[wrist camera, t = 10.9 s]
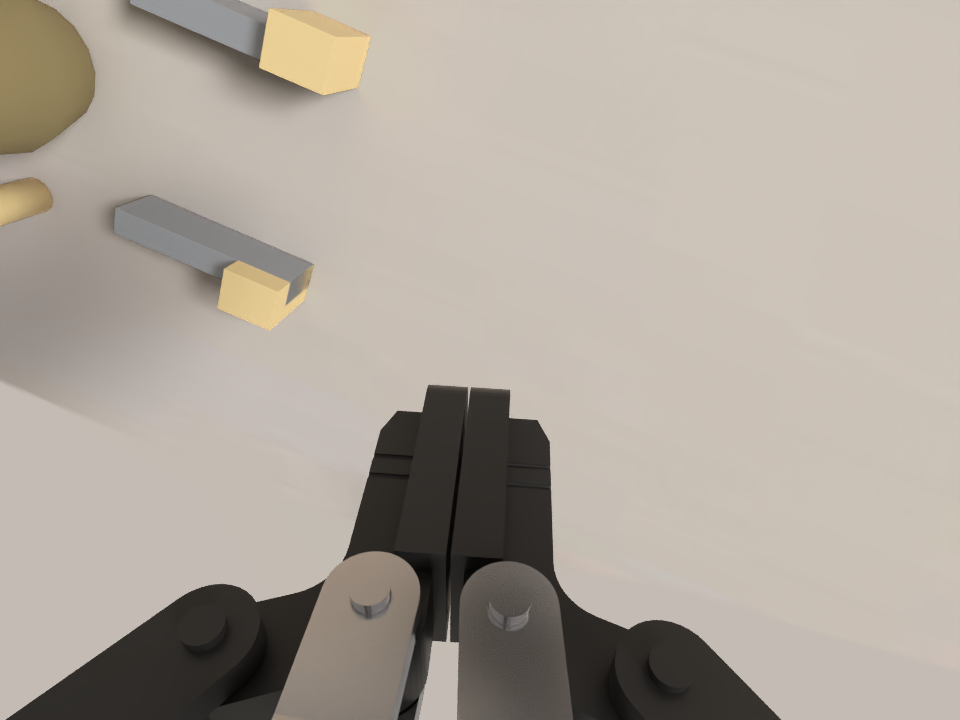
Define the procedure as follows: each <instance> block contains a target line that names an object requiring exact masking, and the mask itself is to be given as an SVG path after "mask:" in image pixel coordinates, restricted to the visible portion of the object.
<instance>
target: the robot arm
mask: <svg viewBox="0 0 960 720" xmlns="http://www.w3.org/2000/svg"><path fill="white" fill-rule="evenodd" d="M509 406H510V390H503V389H488V388H473V387H471V391H470V399H469V407H468V387H456V386H441V385H428V388H427V392H426V397H425V402H424V407H423V412H407V411H397V412H396V413H395V414H394V416H393V417H392V418H391V419H390V420H389V421H388V422H387V424H386V425H385V426H384V427H383V428H382V429H381V431H380V435H379V438H378V442H377V446H376V449H375V453H374V458H373V460H372V464H371V468H370V471H369V477H368V479H367V482H366V486H365V490H364V493H363V497H362V501H361V504H360V508H359V512H358V515H357V519H356V523H355V527H354V530H353V534H352V537H351V541H350V545H349V548H348V551H347V554H346V556H345V557H344V559H343V562H342V563H340V564H339V565H338V566H337V567H336V568H335V569H334V570H333V571H332V572H331V573H330V574H329V576H328V577H327V579H325V580H324V581H322V582H321V583H319V584H317V585H316V586H314V587H312V588H309V589H307V590H305V591H302V592H298V593H294V594H290V595H286V596H281V597H277V598H273V599H269V600H264V601H260V602H256V601H255V600H254V599H253V597H252V596H251V595H250V594H249V593H248V592H247V591H245V590H243V589H241V588H239V587H236V586H233V585H226V584H215V585H209V586H205V587H201V588H199V589H196V590H194V591H191V592H189V593H187V594H185V595H184V596H182V597H181V598H179V599H177V600H176V601H175V602H173V603H172V604H170V605H169V606H168V607H166V608H165V609H164V610H162V611H160V612H159V613H157V614H156V615H155V616H153V617H152V618H150V619H149V620H147V621H146V622H145V623H143V624H142V625H140V626H139V627H137V628H136V629H135V630H133V631H132V632H130V633H129V634H127V635H126V636H125V637H123V638H122V639H120V640H119V641H117V642H116V643H115V644H113V645H112V646H110V647H109V648H107V649H106V650H105V651H103V652H102V653H100V654H99V655H98V656H96V657H95V658H93V659H92V660H90V661H89V662H87V663H86V664H85V665H83V666H82V667H80V668H79V669H77V670H76V671H75V672H73V673H72V674H70V675H69V676H67V677H66V678H65V679H63V680H62V681H60V682H59V683H57V684H56V685H55V686H53V687H52V688H50V689H49V690H47V691H46V692H45V693H44V694H42V695H40V696H39V697H37V698H36V699H35V700H33V701H32V702H30V703H29V704H27V705H26V706H25V707H23V708H22V709H20V710H19V711H17V712H16V713H15V714H13V715H12V716H10V717H9V718H7V719H6V720H418V719H419V715H420V710H421V705H422V700H423V695H424V687H425V684H426V680H427V676H428V669H429V661H430V653H431V646H432V645H431V644H432V641H442V642H446V639H447V629H448V621H449V612H450V603H451V616H450V621H451V623H450V628H451V630H450V642H459V661H458V704H457V720H781V719H780V718H779V717H778V716H777V715H776V714H775V713H774V712H773V711H772V710H771V709H770V708H769V707H768V706H767V705H766V704H765V703H764V702H763V701H762V700H761V699H760V698H759V697H758V696H757V695H756V694H755V693H754V692H753V691H752V690H751V689H750V688H749V686H747V684H746V683H745V682H744V681H743V680H742V679H741V678H740V677H739V676H738V675H737V674H736V673H735V672H734V671H733V670H732V669H731V668H729V666H728V665H727V664H726V663H725V662H724V661H723V660H722V659H721V658H720V657H719V656H718V655H717V654H716V653H715V652H714V651H713V650H712V649H711V648H710V647H709V646H708V645H707V644H706V643H705V642H704V641H703V640H702V639H701V638H700V637H699V636H698V635H696V634H695V633H693V632H692V631H690V630H689V629H687V628H685V627H683V626H681V625H678V624H675V623H672V622H667V621H663V620H651V621H645V622H642V623H639V624H637V625H635V626H633V627H631V628H630V629H629V630H628V629H625V628H623V627H621V626H618V625H616V624H613V623H611V622H608V621H606V620H603V619H601V618H598V617H596V616H594V615H592V614H590V613H588V612H586V611H585V610H583V609H581V608H580V607H578V606H577V605H576V604H575V603H574V602H573V601H571V599H570V598H569V597H568V596H567V595H566V594H565V592H564V591H563V589H562V588H561V587H560V585H559V582H558V581H557V578H556V575H555V572H554V565H553V539H552V506H551V474H550V442H549V440H548V438H547V436H546V435H545V433H544V431H543V429H542V428H541V426H540V424H539V422H538V421H537V420H527V419H513V418H509Z"/></svg>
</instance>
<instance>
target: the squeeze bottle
mask: <svg viewBox="0 0 960 720" xmlns="http://www.w3.org/2000/svg"><path fill="white" fill-rule="evenodd" d="M94 91H95V71H94V68H93V64H92V61H91V57H90V54H89V50H88V48H87V46H86V45H85V43H84V42H83V40H82V38H81V37H80V35H79V34H78V32H77V30H76V29H75V27H74V26H73V25H72V24H71V23H70V22H69V21H68V20H67V19H65V18H64V17H63V16H62V15H61V14H60V13H59V12H58V11H57V10H56V9H54V8H52V7H50V6H48V5H46V4H44V3H42V2H40V1H38V0H0V155H1V154H14V153H27V152H33V151H34V150H36V149H38V148H39V147H41V146H43V145H44V144H46V143H47V142H49V141H51V140H52V139H54V138H55V137H56V136H57V135H59V134H60V133H61V132H62V131H63V130H65V129H66V128H67V127H68V126H70V125H71V124H72V123H73V122H75V121H76V120H77V119H78V118H80V117H81V116H82V115H83V114H84V113H86V111H87V109H88V107H89V105H90V103H91V101H92V99H93V97H94Z"/></svg>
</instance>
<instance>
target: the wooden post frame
mask: <svg viewBox="0 0 960 720" xmlns="http://www.w3.org/2000/svg"><path fill="white" fill-rule="evenodd" d="M130 4H132V5H134V6H136V7H139V8H141V9H143V10H146V11H148V12H150V13H152V14H155V15H157V16H159V17H162V18H164V19H166V20H169V21H171V22H173V23H176V24H178V25H180V26H182V27H185V28H187V29H189V30H192V31H194V32H196V33H199V34H201V35H203V36H206V37H208V38H210V39H213V40H215V41H217V42H219V43H222V44H224V45H226V46H229V47H231V48H233V49H236V50H238V51H240V52H243V53H245V54H247V55H249V56H252V57H254V58H256V59H259V60H260V64H259V68H261V69H263V70H266V71H268V72H270V73H273V74H275V75H277V76H279V77H282V78H284V79H286V80H289V81H291V82H293V83H296V84H298V85H300V86H303V87H305V88H307V89H310V90H312V91H314V92H316V93H319V94H321V95H327V94H331V93H336V92H340V91H345V90H349V89H354V88H358V87H359V83H360V79H361V75H362V71H363V67H364V63H365V59H366V55H367V51H368V47H369V43H370V39H371V36H369V35H367V34H364V33H362V32H360V31H357V30H355V29H353V28H350V27H348V26H346V25H344V24H341V23H339V22H337V21H334V20H332V19H330V18H327V17H325V16H323V15H321V14H318V13H316V12H314V11H304V10H290V9H276V8H269V12H268V13H266V12H263V11H261V10H259V9H257V8H254V7H252V6H250V5H247V4H245V3H243V2H240V1H238V0H130ZM51 206H52V196H51V193H50V191H49V189H48V188H47V187H46V185H45V184H43V183H42V182H41V181H39V180H38V179H35V178H26V179H22V180H18V181H14V182H10V183H6V184H2V185H0V226H2V225H5V224H8V223H11V222H14V221H17V220H21V219H24V218H27V217H30V216H33V215H36V214H39V213H43V212H46V211H48V210H49V209H50V208H51ZM114 234H116V235H119V236H121V237H123V238H126V239H128V240H130V241H133V242H135V243H137V244H140V245H142V246H145V247H147V248H149V249H152V250H154V251H156V252H159V253H161V254H163V255H166V256H168V257H170V258H173V259H175V260H177V261H180V262H182V263H184V264H187V265H189V266H191V267H194V268H196V269H199V270H201V271H203V272H206V273H208V274H210V275H213V276H215V277H217V278H220V279H222V284H221V289H220V295H219V301H218V307H217V308H218V309H220V310H222V311H225V312H227V313H229V314H232V315H234V316H236V317H239V318H241V319H243V320H246V321H248V322H250V323H253V324H255V325H258V326H260V327H262V328H265V329H267V330H269V331H270V330H271V329H272V328H273V327H274V326H276V325H277V324H278V323H279V322H280V321H281V320H282V319H284V318H285V317H286V316H287V315H288V314H289V313H290V312H291V311H293V310H294V309H295V308H296V307H297V306H298V305H299V304H301V303H302V302H303V301H304V300H305V297H306V293H307V289H308V285H309V281H310V277H311V273H312V269H313V265H314V264H312V263H309V262H307V261H305V260H302V259H300V258H298V257H295V256H293V255H291V254H288V253H286V252H284V251H281V250H279V249H277V248H274V247H272V246H270V245H267V244H265V243H263V242H260V241H258V240H256V239H253V238H251V237H249V236H246V235H244V234H242V233H239V232H237V231H235V230H232V229H230V228H228V227H225V226H223V225H221V224H218V223H216V222H214V221H211V220H209V219H207V218H204V217H202V216H200V215H197V214H195V213H193V212H190V211H188V210H186V209H183V208H181V207H178V206H176V205H174V204H171V203H169V202H167V201H164V200H162V199H160V198H157V197H155V196H153V195H150V196H147V197H144V198H141V199H139V200H136V201H133V202H130V203H127V204H125V205H122V206H119V207H116V208H115V219H114Z"/></svg>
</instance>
